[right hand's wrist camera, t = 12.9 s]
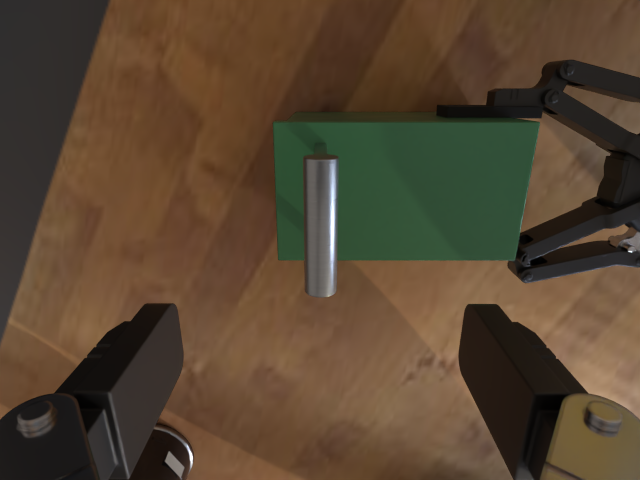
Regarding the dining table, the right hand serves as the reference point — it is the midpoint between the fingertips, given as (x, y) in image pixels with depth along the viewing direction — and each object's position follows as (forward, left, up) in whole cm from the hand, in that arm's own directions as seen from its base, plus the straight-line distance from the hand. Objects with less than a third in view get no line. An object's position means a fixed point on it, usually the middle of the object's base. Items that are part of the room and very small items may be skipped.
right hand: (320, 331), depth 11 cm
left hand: (+1, -9, -21) cm, 22 cm away
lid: (+1, -5, -17) cm, 18 cm away
